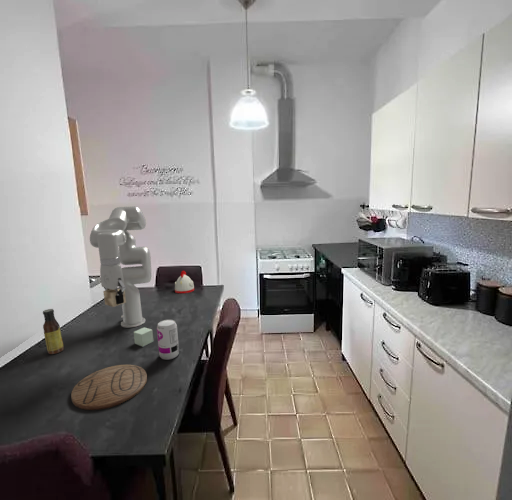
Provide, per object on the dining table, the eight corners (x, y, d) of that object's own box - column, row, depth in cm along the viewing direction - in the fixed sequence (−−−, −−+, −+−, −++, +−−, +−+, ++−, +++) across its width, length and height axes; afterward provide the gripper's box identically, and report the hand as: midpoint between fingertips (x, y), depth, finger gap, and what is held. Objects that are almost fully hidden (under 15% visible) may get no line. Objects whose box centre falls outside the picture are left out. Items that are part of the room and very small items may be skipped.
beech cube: (105, 304, 133) (103, 291, 132) (117, 300, 138) (116, 287, 137) (113, 306, 130) (111, 293, 129) (126, 302, 135) (124, 289, 134)
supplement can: (161, 362, 129) (158, 328, 126) (158, 353, 136) (154, 321, 133) (181, 357, 132) (178, 324, 130) (176, 349, 140) (173, 317, 137)
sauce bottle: (67, 349, 144) (60, 308, 140) (54, 355, 138) (47, 313, 134) (56, 347, 146) (50, 307, 142) (44, 353, 140) (36, 312, 136)
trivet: (66, 420, 97) (65, 415, 97) (76, 378, 120) (75, 374, 120) (150, 397, 107) (149, 392, 106) (144, 363, 129) (144, 358, 129)
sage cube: (134, 343, 147) (133, 331, 146) (145, 338, 151) (144, 327, 150) (143, 346, 143) (141, 334, 142) (153, 341, 148) (152, 329, 147)
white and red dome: (171, 293, 222) (170, 273, 220) (179, 287, 236) (178, 268, 233) (190, 293, 220) (188, 273, 217) (197, 287, 233) (195, 268, 231)
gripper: (90, 261, 132) (96, 301, 135) (114, 265, 123) (119, 308, 126) (106, 257, 138) (111, 296, 142) (130, 261, 129) (135, 302, 132)
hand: (115, 301), depth 134 cm, fingers closed on beech cube, 6 cm apart
